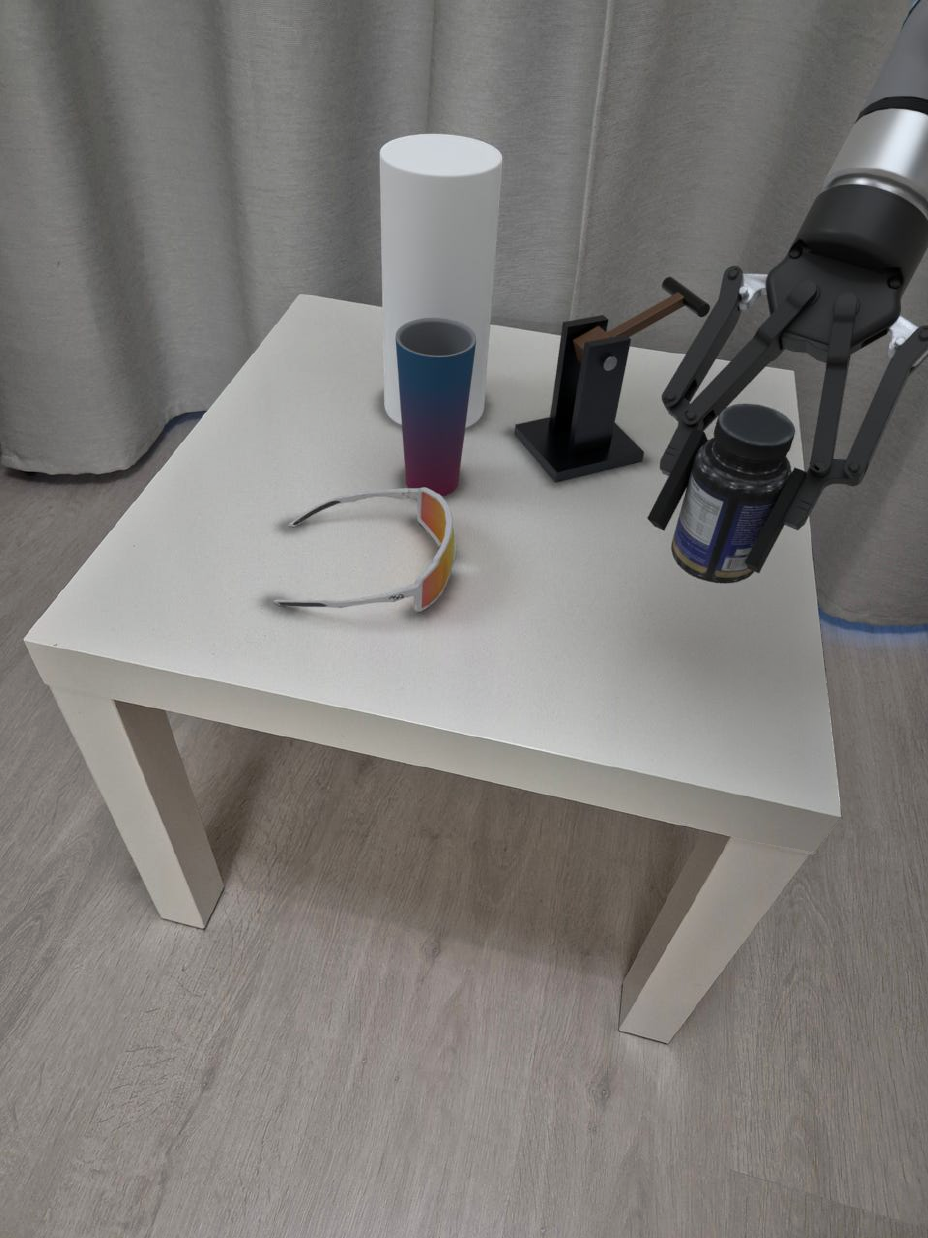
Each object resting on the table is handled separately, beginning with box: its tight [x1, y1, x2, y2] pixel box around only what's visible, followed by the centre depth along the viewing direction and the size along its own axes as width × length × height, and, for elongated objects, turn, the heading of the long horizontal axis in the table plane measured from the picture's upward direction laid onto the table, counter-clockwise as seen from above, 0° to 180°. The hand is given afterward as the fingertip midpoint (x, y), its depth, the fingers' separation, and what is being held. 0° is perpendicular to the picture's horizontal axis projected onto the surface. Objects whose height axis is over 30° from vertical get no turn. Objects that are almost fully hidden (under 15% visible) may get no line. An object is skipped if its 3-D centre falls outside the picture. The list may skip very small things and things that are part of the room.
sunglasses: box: [273, 487, 458, 613], centre depth 74 cm, size 14×15×5 cm
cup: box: [395, 318, 476, 497], centre depth 79 cm, size 7×7×15 cm
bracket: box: [513, 314, 645, 483], centre depth 85 cm, size 10×9×13 cm
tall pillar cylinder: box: [379, 133, 503, 429], centre depth 85 cm, size 11×11×25 cm
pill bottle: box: [670, 403, 796, 585], centre depth 58 cm, size 6×6×11 cm
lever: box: [573, 276, 711, 363], centre depth 82 cm, size 12×6×2 cm, turn 115°
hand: (703, 545), depth 57 cm, fingers closed on pill bottle, 6 cm apart
